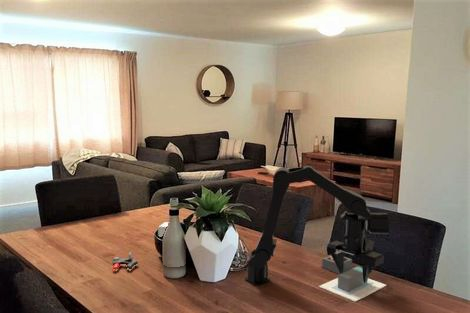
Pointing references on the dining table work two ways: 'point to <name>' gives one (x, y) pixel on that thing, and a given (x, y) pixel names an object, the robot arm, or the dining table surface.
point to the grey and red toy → (124, 262)
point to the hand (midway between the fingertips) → (353, 277)
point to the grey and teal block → (351, 279)
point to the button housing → (331, 265)
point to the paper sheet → (355, 293)
